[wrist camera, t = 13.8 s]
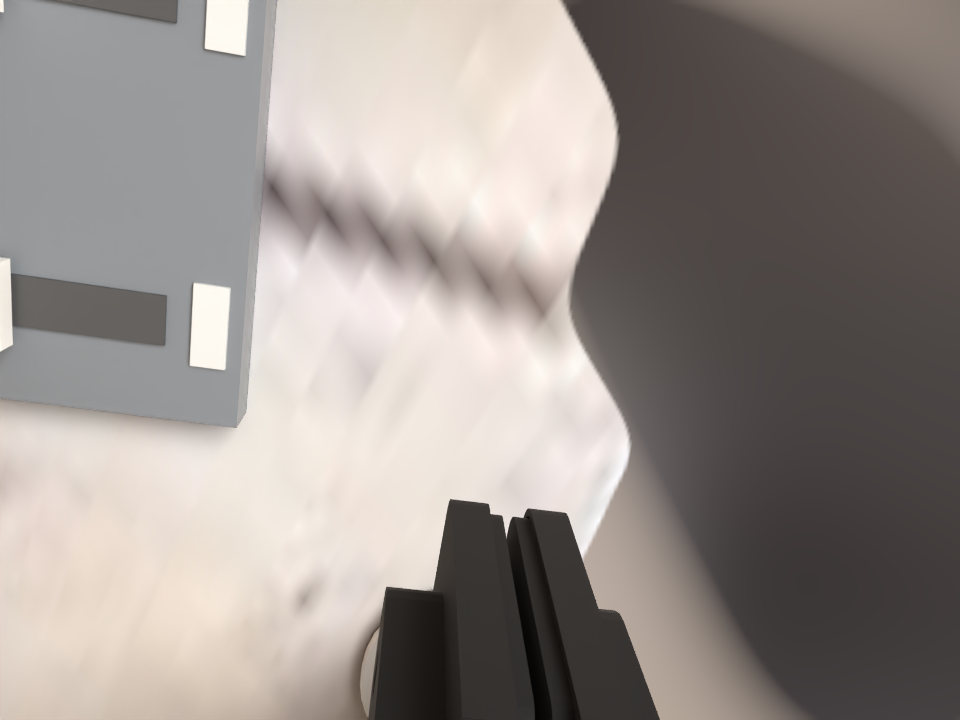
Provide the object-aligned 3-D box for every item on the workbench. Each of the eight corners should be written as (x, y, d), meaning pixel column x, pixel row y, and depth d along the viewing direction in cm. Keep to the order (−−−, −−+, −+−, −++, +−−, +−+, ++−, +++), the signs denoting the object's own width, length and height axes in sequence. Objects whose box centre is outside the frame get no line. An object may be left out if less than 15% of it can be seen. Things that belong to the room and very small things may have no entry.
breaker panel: (246, 411, 38) (235, 429, 36) (-130, 364, 36) (-164, 379, 34) (285, -118, 31) (274, -134, 29) (-185, -215, 29) (-233, -239, 27)
